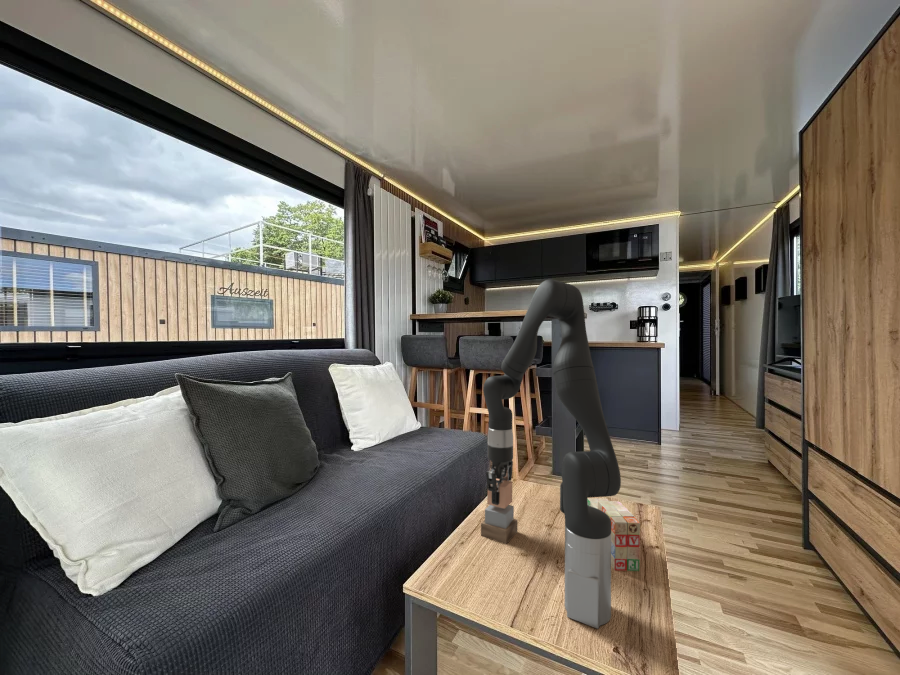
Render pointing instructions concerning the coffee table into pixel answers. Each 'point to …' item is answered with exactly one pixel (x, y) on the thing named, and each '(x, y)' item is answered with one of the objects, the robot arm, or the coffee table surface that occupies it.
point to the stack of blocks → (621, 534)
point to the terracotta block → (502, 495)
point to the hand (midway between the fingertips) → (499, 500)
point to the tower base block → (499, 531)
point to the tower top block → (499, 516)
